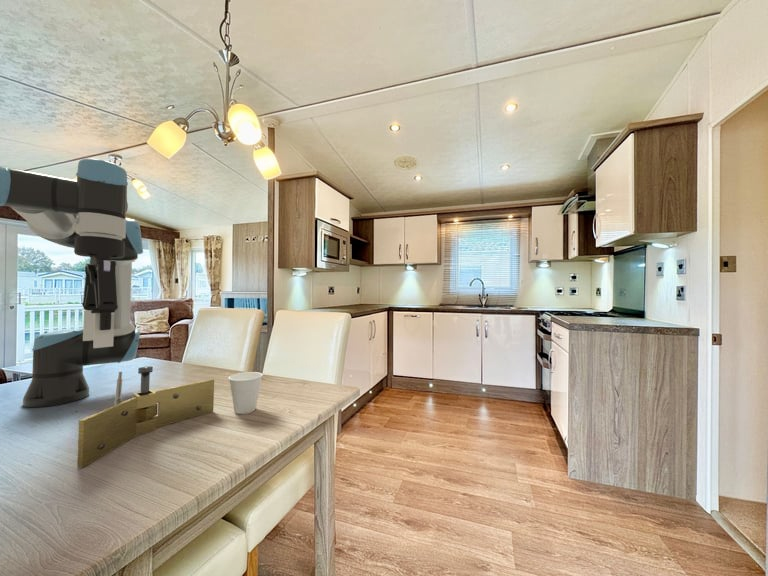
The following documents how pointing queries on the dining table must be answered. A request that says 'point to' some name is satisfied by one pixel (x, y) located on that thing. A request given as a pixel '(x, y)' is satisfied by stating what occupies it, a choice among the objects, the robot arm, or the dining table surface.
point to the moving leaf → (109, 429)
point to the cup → (245, 391)
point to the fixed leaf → (176, 404)
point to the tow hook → (118, 390)
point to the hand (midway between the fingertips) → (97, 343)
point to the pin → (145, 379)
